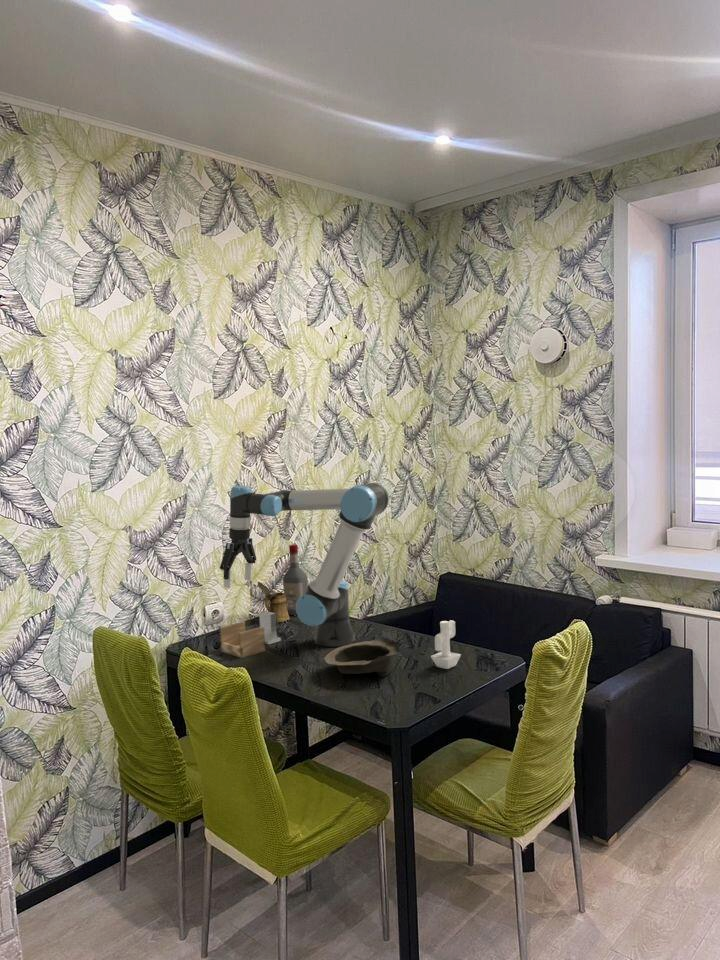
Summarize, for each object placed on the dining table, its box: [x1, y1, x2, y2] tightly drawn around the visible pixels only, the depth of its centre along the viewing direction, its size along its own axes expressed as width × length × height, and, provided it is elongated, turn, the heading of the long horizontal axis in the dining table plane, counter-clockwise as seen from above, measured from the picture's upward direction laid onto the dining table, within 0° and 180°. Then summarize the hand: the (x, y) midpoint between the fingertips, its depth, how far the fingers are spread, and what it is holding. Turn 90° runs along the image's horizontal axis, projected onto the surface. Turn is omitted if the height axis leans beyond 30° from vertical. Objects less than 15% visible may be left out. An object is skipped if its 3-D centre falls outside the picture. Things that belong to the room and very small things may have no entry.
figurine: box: [430, 619, 462, 670], centre depth 242 cm, size 7×9×15 cm
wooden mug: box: [257, 581, 291, 624], centre depth 309 cm, size 9×14×18 cm, turn 128°
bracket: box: [258, 610, 282, 645], centre depth 281 cm, size 7×6×11 cm
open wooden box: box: [219, 621, 266, 659], centre depth 269 cm, size 13×11×9 cm
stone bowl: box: [323, 637, 400, 678], centre depth 241 cm, size 25×25×9 cm
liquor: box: [282, 544, 309, 617], centre depth 320 cm, size 9×9×30 cm
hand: (238, 583), depth 276 cm, fingers open, 13 cm apart
